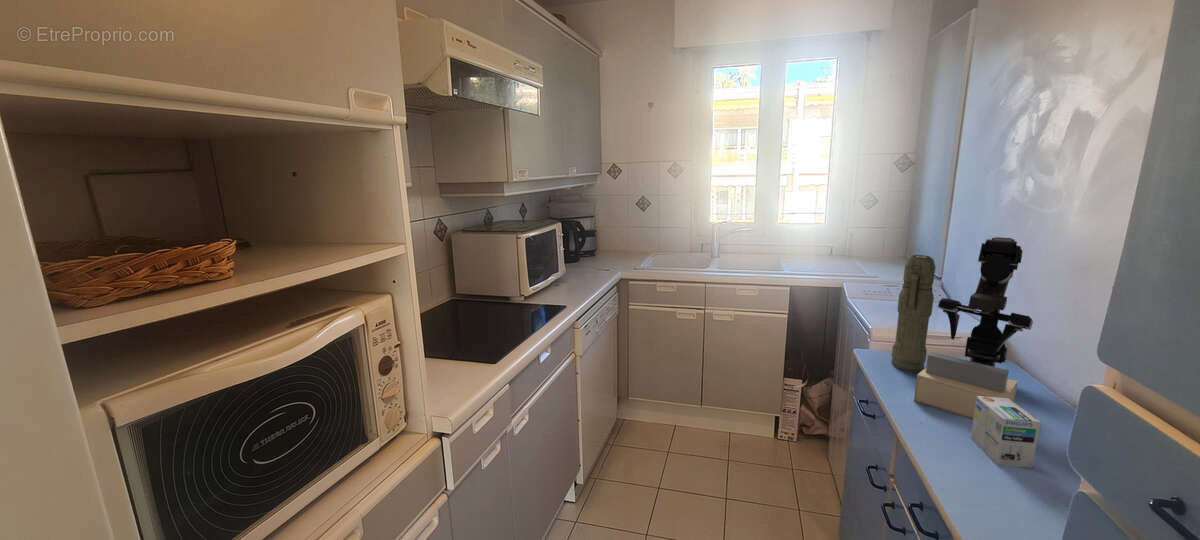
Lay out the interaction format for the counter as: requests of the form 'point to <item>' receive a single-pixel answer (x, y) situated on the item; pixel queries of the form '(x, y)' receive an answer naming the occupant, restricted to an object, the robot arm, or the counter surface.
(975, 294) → the robot arm
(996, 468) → the counter surface
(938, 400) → the carton
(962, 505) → the counter surface
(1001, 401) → the light bulb box
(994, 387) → the grey stone
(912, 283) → the thermos
